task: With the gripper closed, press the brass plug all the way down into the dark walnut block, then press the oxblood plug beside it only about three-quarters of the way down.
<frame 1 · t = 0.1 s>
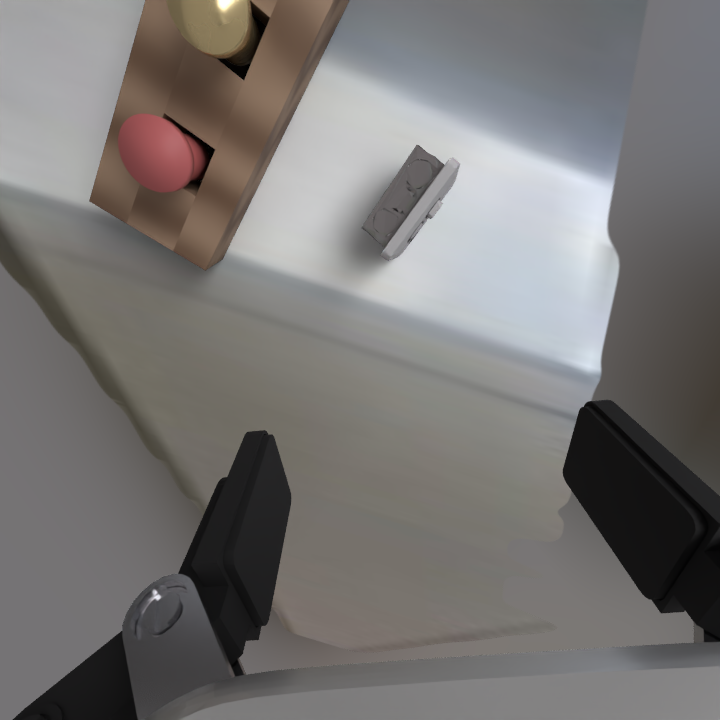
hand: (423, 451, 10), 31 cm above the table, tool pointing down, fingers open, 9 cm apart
plug block: (224, 107, 31), on the table
brass plug: (223, 20, 24), point 6 cm above the table, slide at 0.0 cm
oxblood plug: (173, 156, 28), point 6 cm above the table, slide at 0.0 cm
electrical switch: (404, 206, 36), on the table
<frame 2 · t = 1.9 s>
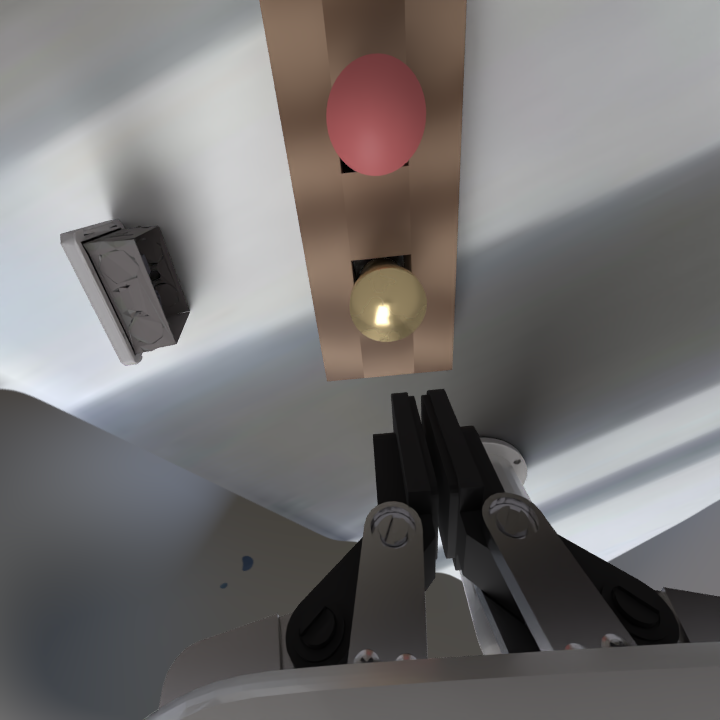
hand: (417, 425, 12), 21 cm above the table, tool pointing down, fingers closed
plug block: (374, 209, 27), on the table
brass plug: (384, 292, 24), point 6 cm above the table, slide at 0.0 cm
oxblood plug: (373, 126, 20), point 6 cm above the table, slide at 0.0 cm
electrical switch: (164, 269, 30), on the table
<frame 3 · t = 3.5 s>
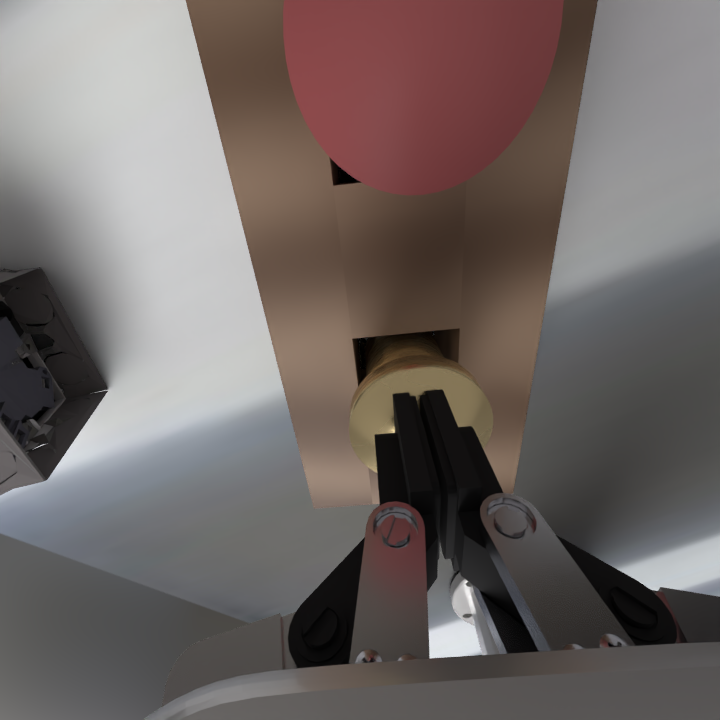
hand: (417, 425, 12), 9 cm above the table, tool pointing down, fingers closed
plug block: (390, 241, 17), on the table
brass plug: (408, 383, 14), point 5 cm above the table, slide at 1.0 cm, touching gripper
oxblood plug: (401, 83, 9), point 6 cm above the table, slide at 0.0 cm
electrical switch: (61, 330, 19), on the table
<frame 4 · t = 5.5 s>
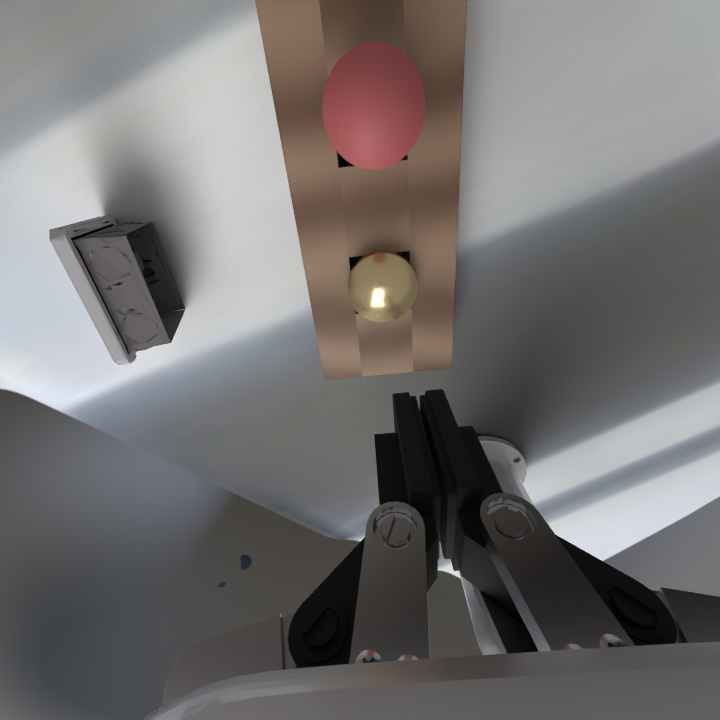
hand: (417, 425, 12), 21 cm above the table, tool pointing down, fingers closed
plug block: (372, 204, 27), on the table
brass plug: (379, 277, 27), point 3 cm above the table, slide at 3.1 cm
oxblood plug: (370, 118, 19), point 6 cm above the table, slide at 0.0 cm
electrical switch: (158, 266, 29), on the table
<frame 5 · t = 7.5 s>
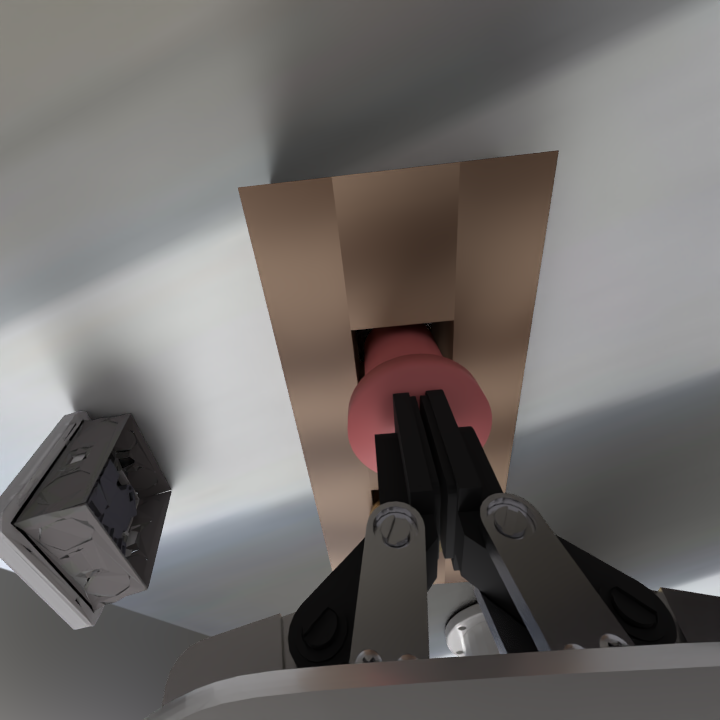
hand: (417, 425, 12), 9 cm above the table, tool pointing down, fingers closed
plug block: (397, 396, 22), on the table
brass plug: (406, 488, 22), point 3 cm above the table, slide at 3.1 cm
oxblood plug: (407, 382, 14), point 6 cm above the table, slide at 0.2 cm, touching gripper
electrical switch: (139, 451, 25), on the table
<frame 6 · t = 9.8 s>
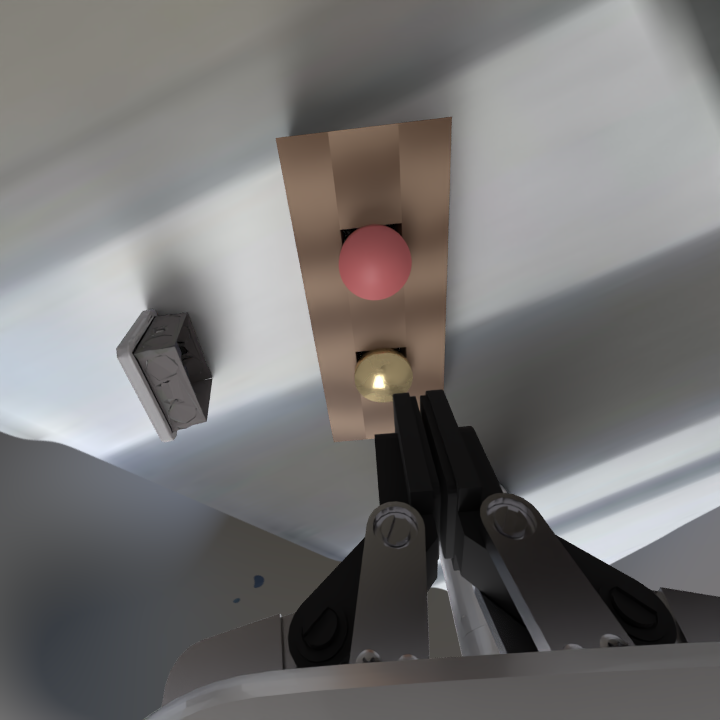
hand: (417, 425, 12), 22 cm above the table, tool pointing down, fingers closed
plug block: (374, 298, 32), on the table
brass plug: (380, 360, 31), point 3 cm above the table, slide at 3.1 cm
oxblood plug: (372, 254, 26), point 4 cm above the table, slide at 2.2 cm
electrical switch: (190, 344, 34), on the table
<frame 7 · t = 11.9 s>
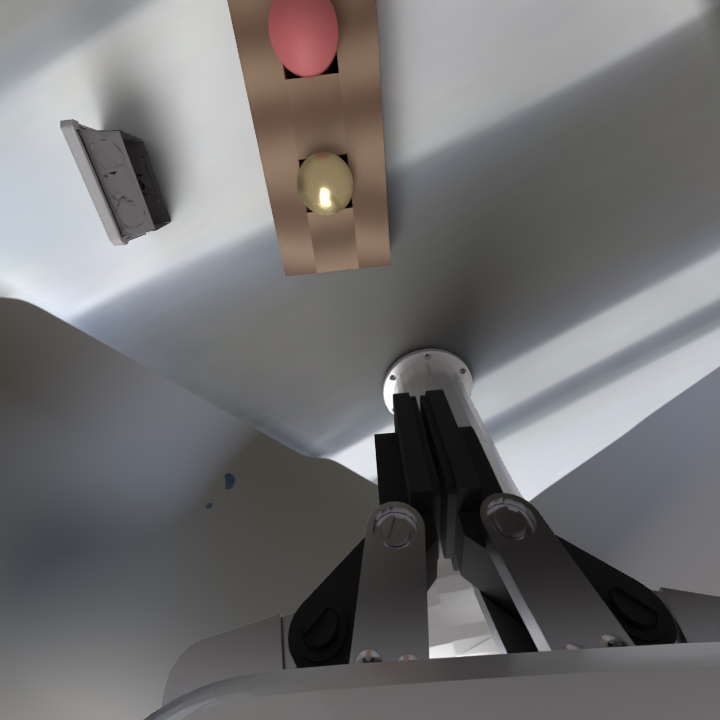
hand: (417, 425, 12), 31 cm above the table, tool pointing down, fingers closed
plug block: (322, 125, 33), on the table
brass plug: (327, 183, 33), point 3 cm above the table, slide at 3.1 cm
oxblood plug: (308, 43, 27), point 4 cm above the table, slide at 2.2 cm
electrical switch: (148, 182, 35), on the table
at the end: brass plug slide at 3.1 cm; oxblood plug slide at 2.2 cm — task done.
